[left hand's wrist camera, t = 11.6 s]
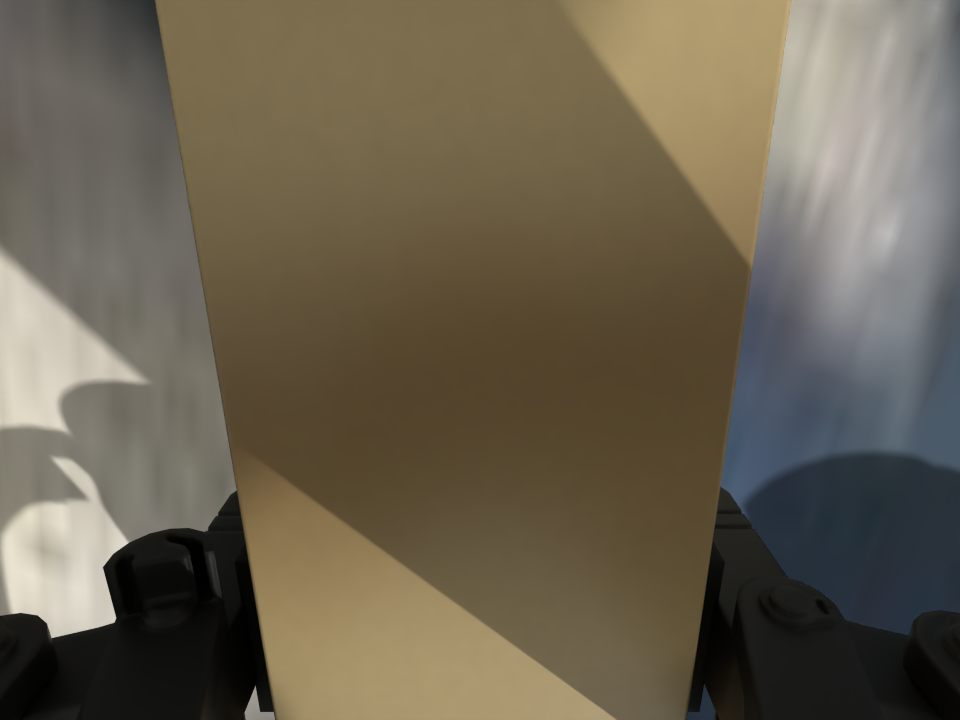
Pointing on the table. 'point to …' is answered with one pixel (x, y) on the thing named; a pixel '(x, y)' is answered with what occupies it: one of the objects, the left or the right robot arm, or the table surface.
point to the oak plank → (476, 334)
